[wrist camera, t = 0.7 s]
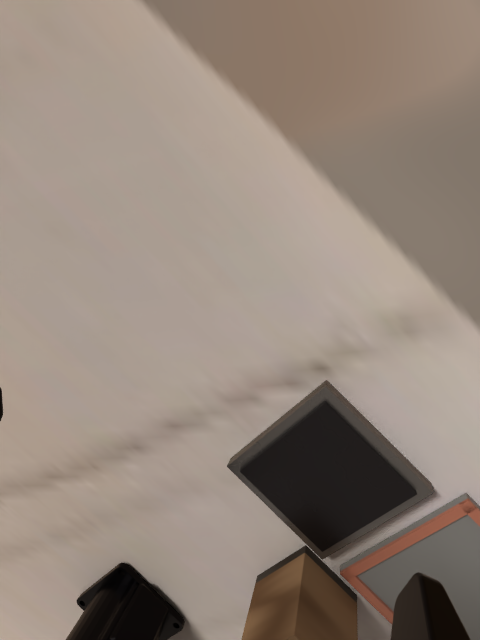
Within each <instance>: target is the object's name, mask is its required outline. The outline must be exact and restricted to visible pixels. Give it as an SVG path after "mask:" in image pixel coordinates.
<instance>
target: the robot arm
mask: <svg viewBox="0 0 480 640" xmlns="http://www.w3.org/2000/svg"><path fill="white" fill-rule="evenodd" d="M2 415H3V404H2V390H1V388H0V421H1V418H2ZM77 604H78V605H79V606H80V607H81V608H82V609H83V610H84V612H83V614H82V615H81V617H80V618H79V620H78V622H77V623H76V625H75V626H74V628H73V629H72V631H71V632H70V634H69V636H68V637H67V639H66V640H166V639H168V638H170V637H171V636H173V635H175V634H176V633H178V632H179V631H181V630H182V629H183V626H184V623H185V621H184V619H183V618H182V617H181V616H180V615H179V614H178V613H177V612H176V611H175V610H174V609H173V608H172V607H171V606H170V605H169V604H168V603H167V602H166V601H165V600H164V599H163V598H161V597H160V596H159V595H158V594H157V593H156V592H155V591H154V590H153V589H152V588H151V587H150V586H149V585H148V584H147V583H146V582H145V581H144V580H143V579H142V578H141V577H140V576H139V575H138V574H137V573H136V572H135V571H133V570H132V569H131V568H130V567H129V566H128V565H127V564H125V563H120V564H118V565H117V566H116V567H115V568H113V569H112V570H111V571H110V572H108V573H107V574H106V575H104V576H103V577H102V578H101V579H99V580H98V581H97V582H96V583H94V584H93V585H92V586H91V587H89V588H88V589H87V590H86V591H84V592H83V593H82V594H81V595H80V596H79V598H78V599H77ZM391 640H471V639H470V637H469V635H468V633H467V631H466V629H465V627H464V625H463V623H462V621H461V619H460V618H459V616H458V614H457V612H456V610H455V608H454V606H453V604H452V602H451V600H450V598H449V596H448V594H447V592H446V590H445V588H444V587H443V585H442V584H441V583H440V582H439V581H438V580H436V579H434V578H432V577H429V576H427V575H425V574H423V573H420V572H418V573H415V574H414V575H413V576H412V577H411V579H410V580H409V581H408V583H407V584H406V585H405V587H404V588H403V589H402V591H401V592H400V593H399V595H398V597H397V599H396V602H395V606H394V614H393V623H392V632H391Z"/></svg>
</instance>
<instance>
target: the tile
mask: <svg viewBox="0 0 480 640" xmlns="http://www.w3.org/2000/svg"><path fill="white" fill-rule="evenodd" d="M418 572H420V573H423V574H425V575H427V576H429V577H432V578H434V579H436V580H438V581H439V582H440V583H441V584H442V585H443V587H444V588H445V590H446V592H447V594H448V596H449V598H450V600H451V602H452V604H453V606H454V608H455V610H456V612H457V614H458V616H459V618H460V619H461V621H462V623H463V625H464V627H465V629H466V631H467V633H468V635H469V637H470V639H471V640H480V506H479V505H478V504H477V503H476V502H475V501H474V500H473V499H472V498H471V497H470V496H469V495H468V494H467V493H465V494H464V495H462V496H460V497H458V498H457V499H455V500H453V501H452V502H450V503H448V504H446V505H445V506H443V507H441V508H439V509H438V510H436V511H434V512H433V513H431V514H429V515H427V516H426V517H424V518H422V519H420V520H419V521H417V522H415V523H414V524H412V525H410V526H408V527H407V528H405V529H403V530H401V531H400V532H398V533H396V534H395V535H393V536H391V537H389V538H388V539H386V540H384V541H382V542H381V543H379V544H377V545H376V546H374V547H372V548H370V549H369V550H367V551H365V552H363V553H362V554H360V555H358V556H356V557H355V558H353V559H351V560H350V561H348V562H346V563H344V564H343V565H341V566H340V574H341V575H342V576H343V577H344V578H345V579H346V580H347V581H348V582H349V583H350V584H351V585H352V586H353V587H354V588H355V589H356V590H357V591H358V592H359V593H360V594H361V595H362V596H363V597H364V598H365V599H366V600H367V601H368V602H369V603H370V604H371V605H372V606H373V607H374V608H376V609H377V610H378V611H379V612H380V613H381V614H382V615H383V616H384V617H385V618H386V619H387V620H388V621H389V622H390V623H391V624H392V623H393V614H394V606H395V602H396V599H397V597H398V595H399V593H400V592H401V591H402V589H403V588H404V587H405V585H406V584H407V583H408V581H409V580H410V579H411V577H412V576H413V575H414V574H415V573H418Z"/></svg>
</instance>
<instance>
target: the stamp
mask: <svg viewBox="0 0 480 640" xmlns="http://www.w3.org/2000/svg"><path fill="white" fill-rule="evenodd" d="M242 640H358V637H357V595H356V594H355V593H354V592H353V591H352V590H351V589H350V588H349V587H348V586H347V585H346V584H345V583H344V582H343V581H342V580H341V579H340V578H339V577H338V576H337V575H336V574H335V573H334V572H333V571H332V570H331V569H330V568H329V567H328V566H327V565H326V564H325V563H324V562H322V561H321V560H320V559H319V558H318V557H317V556H316V555H315V554H314V553H313V552H312V551H311V550H310V549H309V548H308V547H307V546H304V547H303V548H301V549H299V550H298V551H296V552H295V553H293V554H291V555H290V556H288V557H287V558H285V559H283V560H282V561H280V562H279V563H277V564H276V565H274V566H272V567H271V568H269V569H268V570H266V571H264V572H263V573H261V574H260V575H258V576H257V580H256V584H255V588H254V592H253V596H252V600H251V604H250V608H249V612H248V616H247V620H246V624H245V628H244V632H243V636H242Z"/></svg>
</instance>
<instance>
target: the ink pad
mask: <svg viewBox="0 0 480 640" xmlns="http://www.w3.org/2000/svg"><path fill="white" fill-rule="evenodd" d="M227 467H228V468H229V469H230V470H231V471H232V472H233V473H234V474H235V475H236V476H237V477H238V478H239V479H240V480H241V481H242V482H243V483H244V484H245V485H246V486H248V487H249V488H250V489H251V490H252V491H253V492H254V493H255V494H256V495H257V496H258V497H259V498H260V499H261V500H262V501H263V502H264V503H265V504H266V505H267V506H268V507H269V508H270V509H271V510H272V511H273V512H274V513H275V514H276V515H277V516H278V517H279V518H280V519H281V520H282V521H283V522H284V523H285V524H286V525H287V526H288V527H290V528H291V529H292V530H293V531H294V532H295V533H296V534H297V535H298V536H299V537H300V538H301V539H302V540H303V541H304V542H305V543H306V544H307V545H308V546H309V547H310V548H311V549H312V550H313V551H314V552H315V553H316V554H317V555H318V556H319V557H320V558H321V559H324V558H326V557H327V556H329V555H331V554H332V553H334V552H336V551H337V550H339V549H341V548H342V547H344V546H346V545H347V544H349V543H351V542H352V541H354V540H356V539H357V538H359V537H361V536H362V535H364V534H366V533H367V532H369V531H371V530H372V529H374V528H376V527H377V526H379V525H381V524H382V523H384V522H386V521H387V520H389V519H391V518H392V517H394V516H396V515H397V514H399V513H401V512H403V511H404V510H406V509H408V508H409V507H411V506H413V505H414V504H416V503H418V502H419V501H421V500H423V499H424V498H426V497H428V496H429V495H431V494H433V493H434V492H433V489H432V485H431V483H430V482H429V481H428V480H427V479H426V478H425V477H424V476H423V475H422V474H421V473H420V472H419V471H418V470H417V469H416V468H415V467H414V466H413V465H412V464H411V463H410V462H409V461H408V460H407V459H406V458H405V457H404V456H403V455H402V454H401V453H400V452H399V451H398V450H397V449H396V448H395V447H394V446H393V445H392V444H391V443H390V442H389V441H388V440H387V439H386V438H385V437H384V436H383V435H382V434H381V433H380V432H379V431H378V430H377V429H376V428H375V427H374V426H373V425H372V424H371V423H370V422H369V421H368V420H367V419H366V418H365V417H364V416H363V415H362V414H361V413H360V412H359V411H358V410H356V409H355V408H354V407H353V406H352V405H351V404H350V403H349V402H348V401H347V400H346V399H345V398H344V397H343V396H342V395H341V394H340V393H339V392H338V391H337V390H336V389H335V388H334V387H333V386H332V385H331V384H330V383H329V382H328V381H327V380H326V381H325V382H324V383H322V384H321V385H320V386H319V387H317V388H316V389H315V390H314V391H313V392H311V393H310V394H309V395H308V396H306V397H305V398H304V399H303V400H302V401H300V402H299V403H298V404H297V405H295V406H294V407H293V408H292V409H291V410H289V411H288V412H287V413H286V414H284V415H283V416H282V417H281V418H280V419H278V420H277V421H276V422H275V423H273V424H272V425H271V426H270V427H269V428H267V429H266V430H265V431H264V432H262V433H261V434H260V435H259V436H258V437H256V438H255V439H254V440H253V441H251V442H250V443H249V444H248V445H247V446H245V447H244V448H243V449H242V450H240V451H239V452H238V453H237V454H236V455H234V456H233V457H232V458H231V459H230V461H229V463H228V465H227Z"/></svg>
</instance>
